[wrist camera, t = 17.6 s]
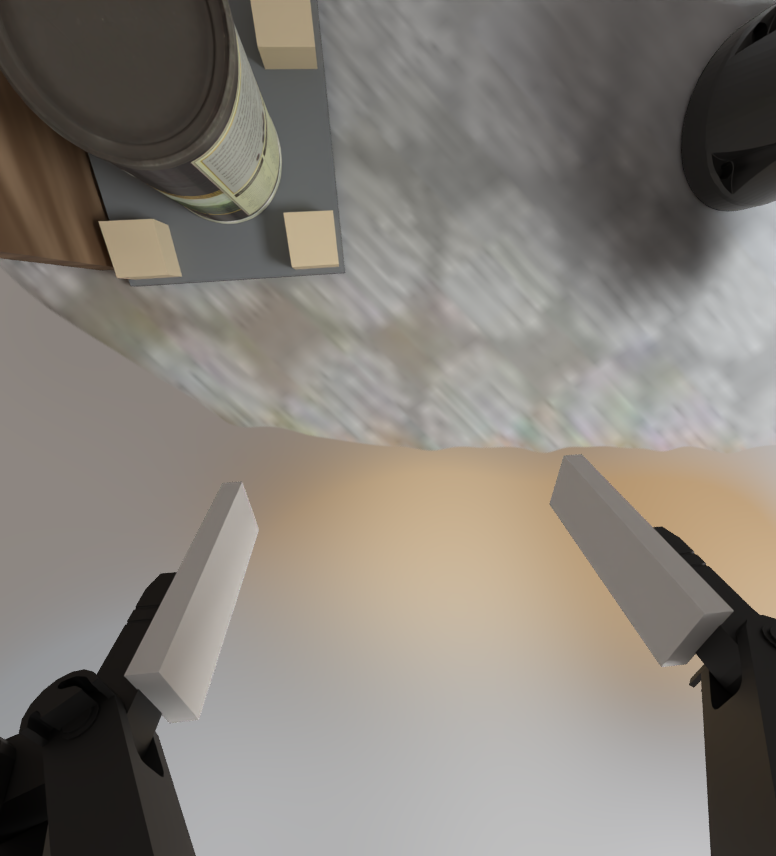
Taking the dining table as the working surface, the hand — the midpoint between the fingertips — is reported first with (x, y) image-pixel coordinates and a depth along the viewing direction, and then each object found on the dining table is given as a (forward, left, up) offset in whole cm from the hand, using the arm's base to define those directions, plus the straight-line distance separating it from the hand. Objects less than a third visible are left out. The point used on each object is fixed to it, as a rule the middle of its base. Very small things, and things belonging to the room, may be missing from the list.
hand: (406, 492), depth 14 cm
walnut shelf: (+16, -20, -24) cm, 35 cm away
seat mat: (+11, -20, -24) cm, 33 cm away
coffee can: (+10, -19, -23) cm, 32 cm away
